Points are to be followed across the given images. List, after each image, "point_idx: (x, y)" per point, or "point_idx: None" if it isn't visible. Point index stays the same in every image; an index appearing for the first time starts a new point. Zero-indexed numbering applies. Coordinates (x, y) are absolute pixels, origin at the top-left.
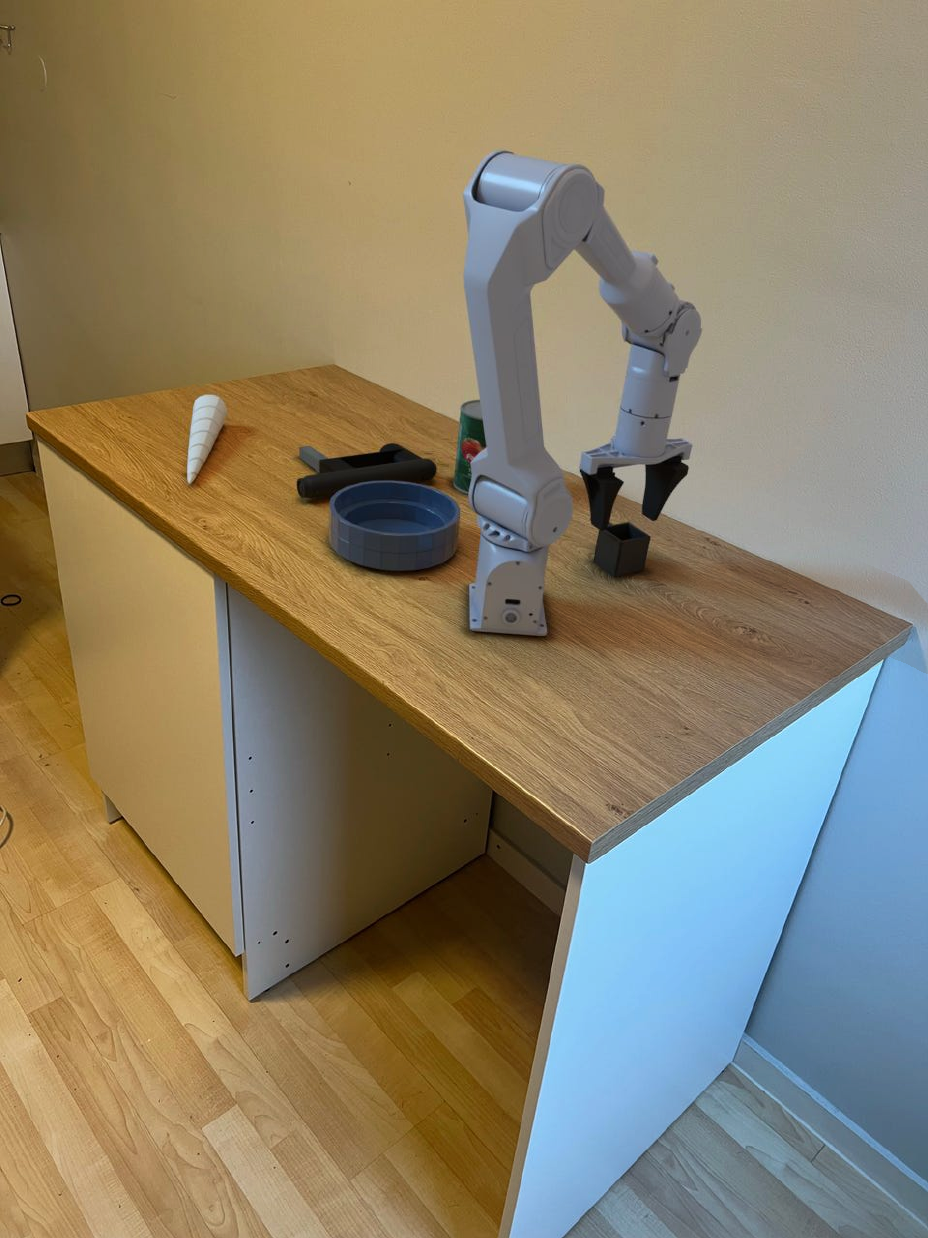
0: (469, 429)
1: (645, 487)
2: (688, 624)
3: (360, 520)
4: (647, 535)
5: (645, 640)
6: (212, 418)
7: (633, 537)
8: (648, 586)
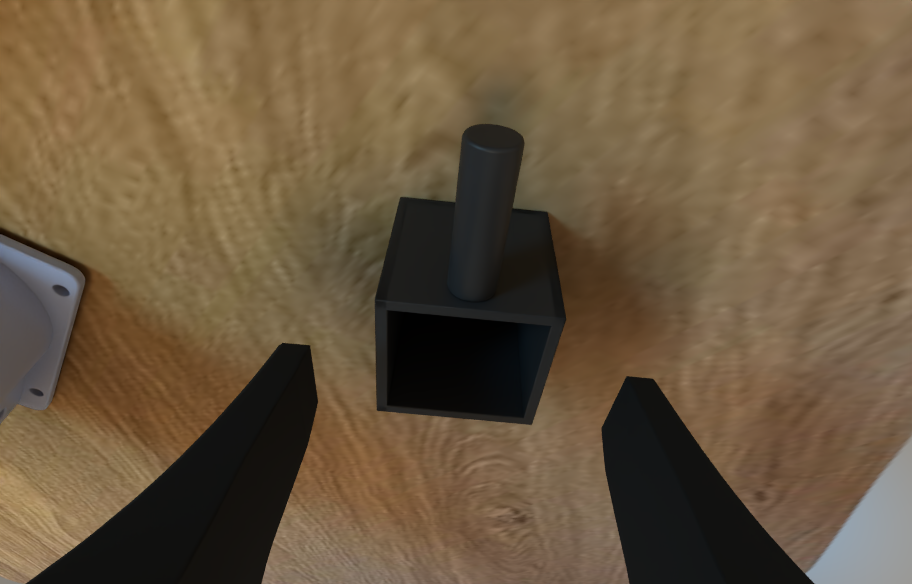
0: None
1: (689, 506)
2: (417, 474)
3: None
4: (525, 417)
5: None
6: None
7: (535, 329)
8: None
